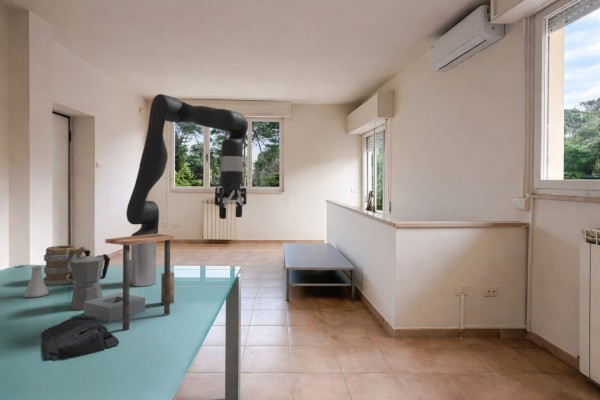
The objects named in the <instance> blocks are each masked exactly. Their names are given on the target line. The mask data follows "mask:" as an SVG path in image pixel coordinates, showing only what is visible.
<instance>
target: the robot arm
mask: <svg viewBox="0 0 600 400" xmlns="http://www.w3.org/2000/svg"><path fill="white" fill-rule="evenodd" d="M166 122H170V123H183V122H184V123H193V124H196V125H198V126H201V127H205V128H209V129H217V130H221V131H225V132H228V133H229V137H228V138H226V139H224V140H223V141H222V142H221V160H220V180H219V181H220V185H222V186H221V187H220V186H216V187H215V188H214V189H215V190H214V191H215V192H214V206H217V207H218V208H219V209H218V211H219V213H218V214H219V215H218V216H219V219H221V220H222V219H223V220H226V219H227V206H228V203H230V202H231V201H232V202H234V204H235V217H236V218H243V217H242V216H243V207H244V205H247V203H248V202H247V188H246V187H241V185H244V184H243V183H244V161H243V160H244V159H243V145H244V143H245V139H246V136H247V135H246V134H247V131H248V121H247V118H246V116H245V115H244V114H242V113H239V112H236V111H233V110H231V109H225V108H216V107H212V106H206V105H192V104H188V103H186V102H185V101H182V100H180V99H178V98H176V97H173V96H170V95H167V94H163V93H159V94H157V95H155V96H154V97H153V99H152V101H151V105H150V109H149V115H148V122H147V123H148V124H147V131H146V137H145V142H144V145H143V146H144V147H143V150H142V154H141V158H140V162H139V168H138V171H137V176H136V178H135V179H136V180H135V183H134V187H133V189H132V192H131V195H130V198H129V201H128V203H127V206H126V215H125V216H126V219H127V221H128V223H129V224H131V225H141V226H140V228H139V229H138V230H137V231H136V232H134V233H132V234H131V235H130V236H138V235H147V234H159V225H160V224H159V223H160V209H159V206H158V204H157V203H156V202H155V201H154V200H147V199H148V195H149V193H150V191H151V190H152V189H153V187H154V186H155V185H156V184H157V183H158V182H159V180H161V178H162V176H163V175H164V174H165V170H166V168H167V163H168V156H169V154H168V149H167V146H166V142H165V139H164V128H165V123H166ZM156 281H157V241H156V242H149V243H141V244H134V245H130V273H129V285H130V286H133V287H148V286H152V285H155V284H156Z"/></svg>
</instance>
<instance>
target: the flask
mask: <svg viewBox="0 0 600 400" xmlns="http://www.w3.org/2000/svg"><path fill="white" fill-rule="evenodd" d="M30 269H31V276H30V280H29V282H28V284H27V287H26V289H25V292H24V294H23V296H24V298H40V297H44V296H48V295H50V292H49V290H48V287H47V285H45V283H44V280H43V279H44V277H43V274H42V269H43V266H41V265H40V266H38V265H37V266H31V268H30Z"/></svg>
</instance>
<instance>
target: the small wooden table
mask: <svg viewBox="0 0 600 400" xmlns="http://www.w3.org/2000/svg"><path fill="white" fill-rule="evenodd" d="M174 237H175V236H174V235H168V234H159V233H158V234H147V235H138V236H131V235H129V236H123V237H122V236H121V237H113V238H111V237H110V238H105V239H104V241H105V244H112V245H113V244H114V245H119V246H122V293H123V318H122V331H128V330H130V316H129V295H130V284H129V273H130V260H131V245H134V244H141V243H149V242H156V243H157V242H161V241H163V242H164V254H163V255H164V258H163V259H164V262H163V263H164V264H163V265H164V269H163V271H164V272H163V273H164V305H163V315H164V314H169V315H170V312H171V310H170V309H171V308H170V307H171V305H170V272H171V240H175V239H174Z"/></svg>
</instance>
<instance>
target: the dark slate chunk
mask: <svg viewBox="0 0 600 400" xmlns="http://www.w3.org/2000/svg"><path fill="white" fill-rule="evenodd" d="M40 338H41V340H40V341H41V349H42V354H43V359H44V361H45V362H47V361H52V362H58V361H60V360H65V359H69V358H70V359H71V358H76V357H77V358H78V357H82V356H87V355H91V354H95V353H100V352H101V351H105V350H107V349H110V348H112V347H116V346H118V345H119V343H120V341H119V339H118V338H117V337H116V336H115V335H114V334H113V333H111V332H110V331H108V328H107V327H106V326H105V325H104V324H102V322H100V321H99V319H96V318H95V317H89V316H73V317H71V318H69V319H66V320H64V321H62V322H60V323H58V324H55V325H53V326H50V327H49V328H47V329H44V330H43V331H42V332H41V334H40Z"/></svg>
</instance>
